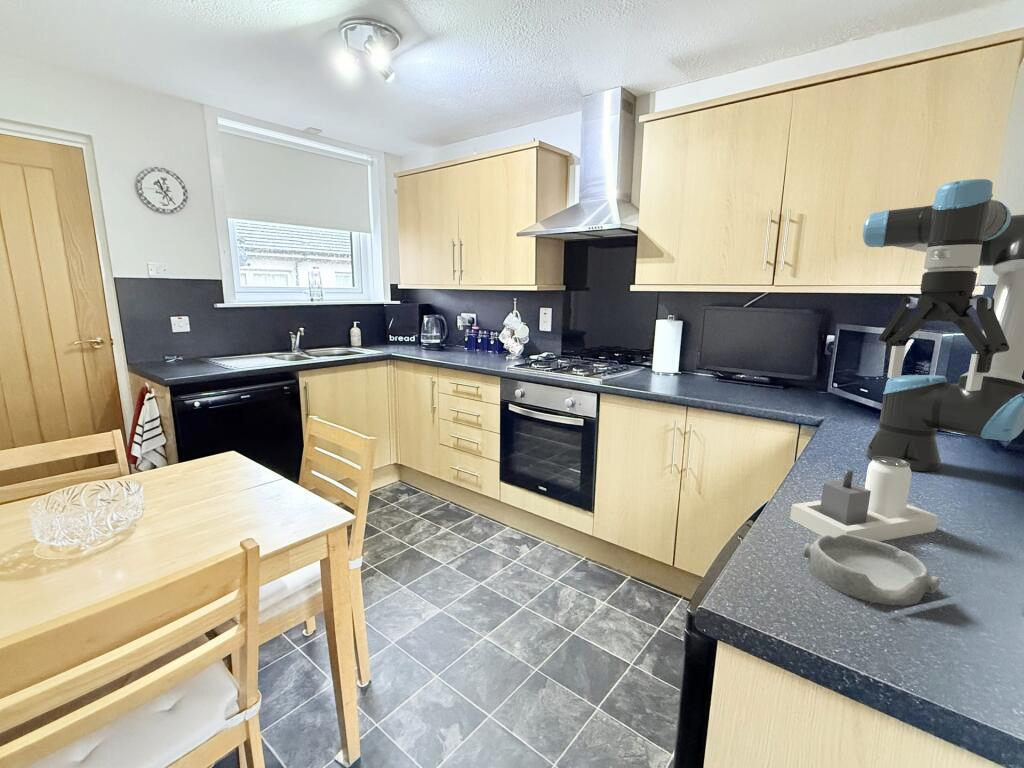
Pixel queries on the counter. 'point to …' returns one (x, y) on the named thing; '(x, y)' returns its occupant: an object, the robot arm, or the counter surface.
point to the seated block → (845, 501)
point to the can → (888, 486)
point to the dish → (869, 570)
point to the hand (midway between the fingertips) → (930, 383)
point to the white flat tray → (872, 529)
